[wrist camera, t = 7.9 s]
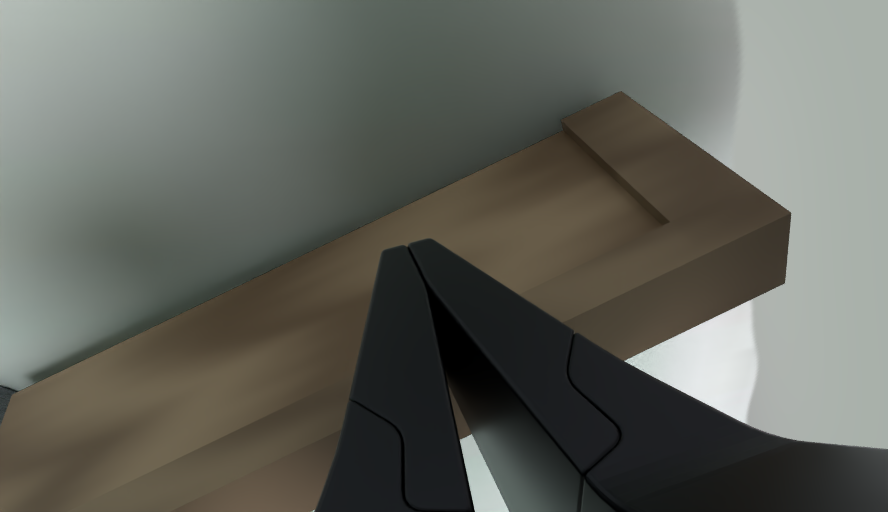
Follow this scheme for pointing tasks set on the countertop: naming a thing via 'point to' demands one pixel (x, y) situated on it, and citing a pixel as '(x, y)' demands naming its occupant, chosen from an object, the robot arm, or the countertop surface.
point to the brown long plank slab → (346, 307)
